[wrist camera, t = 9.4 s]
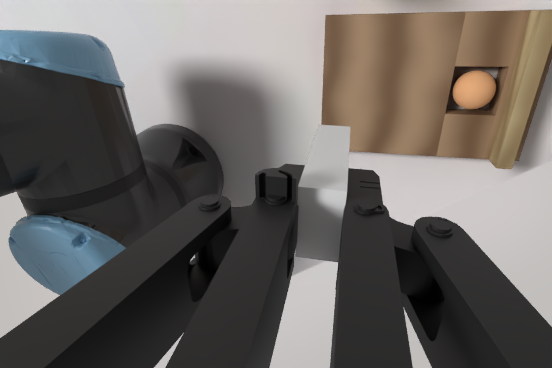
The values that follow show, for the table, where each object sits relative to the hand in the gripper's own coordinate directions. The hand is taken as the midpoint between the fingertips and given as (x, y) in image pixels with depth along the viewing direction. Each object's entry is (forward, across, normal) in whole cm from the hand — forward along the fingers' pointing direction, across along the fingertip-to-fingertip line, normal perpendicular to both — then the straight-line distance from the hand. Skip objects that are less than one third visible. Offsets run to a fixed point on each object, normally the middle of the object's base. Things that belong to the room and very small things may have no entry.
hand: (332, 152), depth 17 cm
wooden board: (+27, +9, -2) cm, 28 cm away
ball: (+25, +14, -1) cm, 28 cm away
